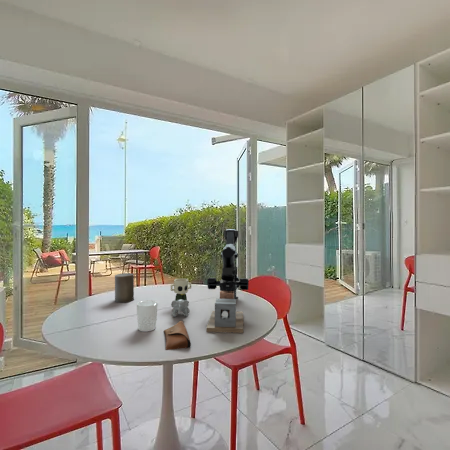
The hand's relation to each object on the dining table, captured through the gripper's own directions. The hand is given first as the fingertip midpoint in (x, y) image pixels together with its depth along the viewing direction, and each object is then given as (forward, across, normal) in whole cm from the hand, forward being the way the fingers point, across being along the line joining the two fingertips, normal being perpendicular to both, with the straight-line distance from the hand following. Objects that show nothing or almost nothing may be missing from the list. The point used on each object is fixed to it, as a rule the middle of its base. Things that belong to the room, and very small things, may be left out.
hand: (227, 300), depth 122 cm
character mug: (-6, -24, +18) cm, 31 cm away
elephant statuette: (+5, -20, +6) cm, 22 cm away
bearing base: (+9, 0, +2) cm, 9 cm away
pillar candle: (-12, -57, +23) cm, 62 cm away
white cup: (+16, -31, -4) cm, 35 cm away
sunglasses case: (+22, -17, -10) cm, 30 cm away
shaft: (+10, 0, -2) cm, 11 cm away
